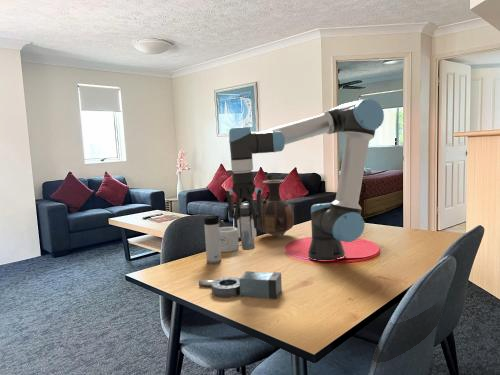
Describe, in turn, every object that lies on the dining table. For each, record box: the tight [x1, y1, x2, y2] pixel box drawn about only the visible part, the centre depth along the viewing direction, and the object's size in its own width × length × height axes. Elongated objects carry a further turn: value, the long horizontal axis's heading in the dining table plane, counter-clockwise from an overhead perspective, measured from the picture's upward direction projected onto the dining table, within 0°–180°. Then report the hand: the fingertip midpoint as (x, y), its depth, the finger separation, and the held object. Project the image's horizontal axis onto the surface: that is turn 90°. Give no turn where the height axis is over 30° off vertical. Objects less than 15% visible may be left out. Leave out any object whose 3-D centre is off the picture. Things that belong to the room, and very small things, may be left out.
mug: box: [219, 226, 242, 253], centre depth 179 cm, size 14×11×10 cm
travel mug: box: [203, 215, 222, 265], centre depth 161 cm, size 6×7×20 cm
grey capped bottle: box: [239, 202, 256, 251], centre depth 134 cm, size 5×5×16 cm
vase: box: [257, 179, 295, 238], centre depth 198 cm, size 23×19×30 cm
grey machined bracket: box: [198, 270, 283, 300], centre depth 127 cm, size 30×11×6 cm, turn 72°
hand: (247, 236), depth 134 cm, fingers closed on grey capped bottle, 4 cm apart
